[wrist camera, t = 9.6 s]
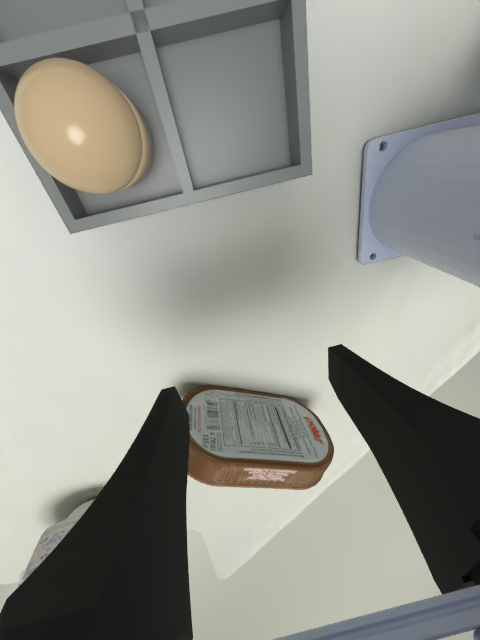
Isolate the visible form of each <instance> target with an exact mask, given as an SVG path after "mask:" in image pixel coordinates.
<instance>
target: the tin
mask: <svg viewBox="0 0 480 640" xmlns="http://www.w3.org/2000/svg"><path fill="white" fill-rule="evenodd" d="M182 401H183V403H184V405H185V407H186V409H187V411H188V413H189V424H190V445H189V460H188V475H189V476H190V477H192V478H194V479H195V480H197V481H199V482H201V483H204V484H207V485H211V486H220V487H248V488H274V489H293V490H304V489H308V488H311V487H313V486H315V485H316V484H317V483H318V482H319V481H320V480H321V478H322V476H323V473H324V472H325V471H326V469H327V468H328V466H329V465H330V463H331V461H332V458H333V454H334V446H333V443H332V441H331V438H330V436H329V434H328V432H327V430H326V429H325V427H324V426H323V424H322V423H321V421H320V419H319V418H318V417H317V416H316V415H315V414H314V413H313V412H312V411H311V410H310V409H308V408H307V407H306V406H304V405H303V404H301V403H299V402H297V401H295V400H293V399H291V398H288V397H284V396H279V395H272V394H266V393H259V392H253V391H247V390H240V389H234V388H227V387H221V386H205V387H200V388H197V389H195V390H193V391H191V392H190V393H188V394H187V395H186V396H185V397H184V398H183V399H182Z"/></svg>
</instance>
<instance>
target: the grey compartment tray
mask: <svg viewBox="0 0 480 640" xmlns="http://www.w3.org/2000/svg"><path fill="white" fill-rule="evenodd" d="M49 58H66V59H71V60H76V61H79V62H81V63H84V64H86V65H88V66H90V67H92V68H94V69H95V70H97V71H98V72H100V73H101V74H103V75H104V76H105V77H107V78H108V79H109V80H110V81H111V82H112V83H113V84H114V85H116V86H117V87H118V88H119V89H120V90H121V91H122V92H123V93H124V94H125V95H126V96H127V97H128V98H129V99H130V100H131V101H132V102H133V103H134V104H135V105H136V106H137V107H138V108H139V109H140V111H141V112H142V113H143V115H144V117H145V118H146V120H147V122H148V124H149V126H150V129H151V132H152V135H153V139H154V148H155V154H154V161H153V165H152V168H151V170H150V172H149V174H148V175H147V176H146V178H145V179H144V180H143V181H141V182H140V183H139V184H137V185H135V186H132V187H129V188H126V189H123V190H120V191H117V192H114V193H110V194H100V195H96V194H88V193H84V192H81V191H78V190H75V189H72V188H70V187H68V186H66V185H65V184H63V183H61V182H60V181H58V180H57V179H55V178H54V177H53V176H52V175H50V174H49V173H48V172H47V171H46V170H45V169H44V168H43V167H42V166H41V165H40V164H39V163H38V162H37V161H36V159H35V158H34V157H33V155H32V154H31V153H30V151H29V149H28V148H27V146H26V144H25V142H24V140H23V138H22V136H21V134H20V131H19V129H18V125H17V122H16V117H15V110H14V99H15V92H16V88H17V85H18V82H19V80H20V78H21V76H22V75H23V74H24V72H25V71H26V70H27V69H28V68H29V67H30V66H32V65H33V64H35V63H37V62H39V61H42V60H45V59H49ZM0 110H1V112H2V114H3V116H4V117H5V119H6V121H7V123H8V124H9V126H10V128H11V130H12V132H13V133H14V135H15V137H16V139H17V140H18V142H19V144H20V146H21V147H22V149H23V151H24V153H25V155H26V156H27V158H28V160H29V162H30V163H31V165H32V167H33V169H34V170H35V172H36V174H37V176H38V178H39V179H40V181H41V183H42V185H43V186H44V188H45V190H46V192H47V193H48V195H49V197H50V199H51V201H52V202H53V204H54V206H55V208H56V209H57V211H58V213H59V215H60V216H61V218H62V220H63V222H64V224H65V225H66V227H67V229H68V231H69V232H70V234H72V233H76V232H80V231H84V230H88V229H92V228H96V227H100V226H105V225H109V224H113V223H117V222H121V221H125V220H129V219H133V218H137V217H141V216H145V215H149V214H153V213H157V212H162V211H166V210H170V209H174V208H178V207H182V206H186V205H190V204H194V203H198V202H202V201H206V200H210V199H214V198H219V197H223V196H227V195H231V194H235V193H239V192H243V191H247V190H251V189H255V188H259V187H263V186H267V185H271V184H276V183H280V182H284V181H288V180H292V179H296V178H300V177H304V176H308V175H312V156H311V130H310V103H309V77H308V51H307V25H306V0H0Z"/></svg>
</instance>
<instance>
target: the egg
mask: <svg viewBox="0 0 480 640" xmlns="http://www.w3.org/2000/svg"><path fill="white" fill-rule="evenodd" d="M14 110H15V117H16V122H17V125H18V129H19V131H20V134H21V136H22V138H23V140H24V142H25V144H26V146H27V148H28V149H29V151H30V153H31V154H32V155H33V157H34V158H35V159H36V161H37V162H38V163H39V164H40V165H41V166H42V167H43V168H44V169H45V170H46V171H47V172H48V173H49V174H50V175H52V176H53V177H54V178H55V179H57V180H58V181H60V182H61V183H63V184H65V185H66V186H68V187H70V188H72V189H75V190H78V191H81V192H84V193H88V194H96V195H100V194H110V193H114V192H117V191H120V190H123V189H126V188H129V187H132V186H135V185H137V184H139V183H140V182H141V181H143V180H144V179H145V178H146V176H147V175H148V174H149V172H150V170H151V168H152V165H153V161H154V154H155V148H154V139H153V135H152V132H151V129H150V126H149V124H148V122H147V120H146V118H145V117H144V115H143V113H142V112H141V111H140V109H139V108H138V107H137V106H136V105H135V104H134V103H133V102H132V101H131V100H130V99H129V98H128V97H127V96H126V95H125V94H124V93H123V92H122V91H121V90H120V89H119V88H118V87H117V86H116V85H114V84H113V83H112V82H111V81H110V80H109V79H108V78H107V77H105V76H104V75H103V74H101V73H100V72H98V71H97V70H95V69H94V68H92V67H90V66H88V65H86V64H84V63H81V62H79V61H76V60H71V59H66V58H49V59H45V60H42V61H39V62H37V63H35V64H33V65H32V66H30V67H29V68H28V69H27V70H26V71H25V72H24V74H23V75H22V76H21V78H20V80H19V82H18V85H17V88H16V92H15V99H14Z"/></svg>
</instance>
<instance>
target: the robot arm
mask: <svg viewBox="0 0 480 640" xmlns="http://www.w3.org/2000/svg"><path fill="white" fill-rule="evenodd" d="M381 142H383V149H382V150H381V151H380V150H379V146H380V144H381ZM371 254H373V256H372V258H370V255H371ZM401 255H406V256H408V257H411V258H413V259H415V260H418V261H420V262H422V263H425V264H427V265H429V266H432V267H434V268H436V269H439V270H441V271H443V272H446V273H448V274H450V275H453V276H455V277H457V278H460V279H462V280H464V281H467V282H469V283H471V284H474V285H476V286H478V287H480V113H476V114H472V115H468V116H463V117H459V118H455V119H451V120H447V121H443V122H439V123H435V124H431V125H427V126H423V127H419V128H414V129H410V130H406V131H402V132H398V133H394V134H390V135H386V136H382V137H378V138H374V139H371V140H369V141H368V142H367V144H366V146H365V149H364V161H363V178H362V195H361V212H360V229H359V246H358V261H359V263H361V264H363V265H364V264H369V263H373V262H377V261H381V260H385V259H389V258H393V257H397V256H401ZM328 369H329V381H330V383H331V385H332V387H333V389H334V391H335V393H336V395H337V397H338V399H339V400H340V402H341V404H342V405H343V407H344V408H345V410H346V411H347V413H348V415H349V416H350V418H351V419H352V421H353V422H354V424H355V425H356V427H357V428H358V430H359V432H360V433H361V435H362V436H363V438H364V439H365V441H366V442H367V444H368V446H369V447H370V449H371V450H372V452H373V454H374V456H375V458H376V460H377V462H378V464H379V466H380V468H381V469H382V471H383V473H384V475H385V477H386V479H387V481H388V483H389V485H390V487H391V489H392V491H393V493H394V495H395V497H396V499H397V501H398V503H399V505H400V507H401V509H402V511H403V513H404V515H405V517H406V519H407V522H408V523H409V526H410V528H411V530H412V532H413V534H414V536H415V538H416V541H417V543H418V545H419V547H420V550H421V552H422V554H423V556H424V558H425V560H426V563H427V565H428V567H429V570H430V572H431V574H432V576H433V579H434V581H435V582H436V584H437V586H438V588H439V589H440V591H441V593H442V595H439V596H435V597H432V598H428V599H424V600H420V601H416V602H412V603H409V604H405V605H402V606H397V607H394V608H390V609H386V610H382V611H378V612H375V613H371V614H367V615H363V616H359V617H356V618H352V619H348V620H345V621H341V622H337V623H333V624H330V625H325V626H322V627H318V628H314V629H311V630H307V631H303V632H299V633H295V634H292V635H288V636H284V637H280V638H276V639H273V640H437V639H441V638H445V637H449V636H452V635H456V634H460V633H464V632H467V631H471V630H475V629H476V630H475V631H474V635H473V636H474V640H480V419H479V418H476V417H474V416H472V415H469V414H467V413H464V412H462V411H459V410H457V409H455V408H452V407H450V406H448V405H446V404H443V403H441V402H439V401H437V400H435V399H432V398H431V397H429V396H427V395H425V394H422V393H420V392H419V391H417V390H415V389H413V388H411V387H409V386H407V385H405V384H404V383H402V382H400V381H398V380H396V379H395V378H393V377H391V376H390V375H388V374H386V373H385V372H383V371H381V370H380V369H378V368H377V367H375V366H373V365H372V364H370V363H369V362H367V361H366V360H364V359H363V358H361V357H360V356H358V355H357V354H355V353H354V352H352V351H351V350H349V349H348V348H346V347H345V346H343V345H342V344H340V345H336V346H332V347H328ZM189 445H190V424H189V413H188V411H187V409H186V407H185V405H184V403H183V401H182V400H181V398H180V396H179V394H178V392H177V390H176V388H175V386H174V387H170V388H166V389H162V390H161V392H160V394H159V395H158V397H157V399H156V401H155V403H154V405H153V407H152V409H151V411H150V413H149V415H148V417H147V419H146V421H145V422H144V424H143V426H142V428H141V430H140V432H139V433H138V435H137V437H136V439H135V440H134V442H133V444H132V445H131V447H130V449H129V450H128V452H127V454H126V455H125V457H124V458H123V460H122V462H121V463H120V465H119V466H118V468H117V469H116V471H115V472H114V474H113V475H112V477H111V478H110V479H109V481H108V482H107V484H106V485H105V486H104V488H103V489H102V491H101V492H100V493H99V495H98V496H97V497H96V499H95V500H94V501H93V502H92V504H91V505H90V506H89V508H88V509H87V510H86V511H85V513H84V514H83V515H82V517H81V518H80V519H79V520H78V521H77V523H76V524H75V525H74V526H73V527H72V529H71V530H70V531H69V532H68V533H67V534H66V536H65V537H64V538H63V539H62V540H61V541H60V543H59V544H58V545H57V546H56V547H55V548H54V549H53V551H52V552H51V553H50V554H49V555H48V556H47V557H46V558H45V559H44V560H43V562H42V563H41V564H40V565H39V566H38V567H37V568H36V569H35V570H34V571H33V572H32V573H31V574H30V575H29V576H28V577H27V579H26V580H25V581H24V582H23V583H22V584H21V585H20V586H19V587H18V588H17V589H16V590H15V591H14V592H13V593H12V594H11V596H9V597H8V598H7V600H6V602H5V604H4V606H3V609H2V611H1V613H0V640H192V639H193V632H192V621H191V605H190V591H189V575H188V556H187V526H186V488H187V474H188V460H189Z"/></svg>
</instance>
